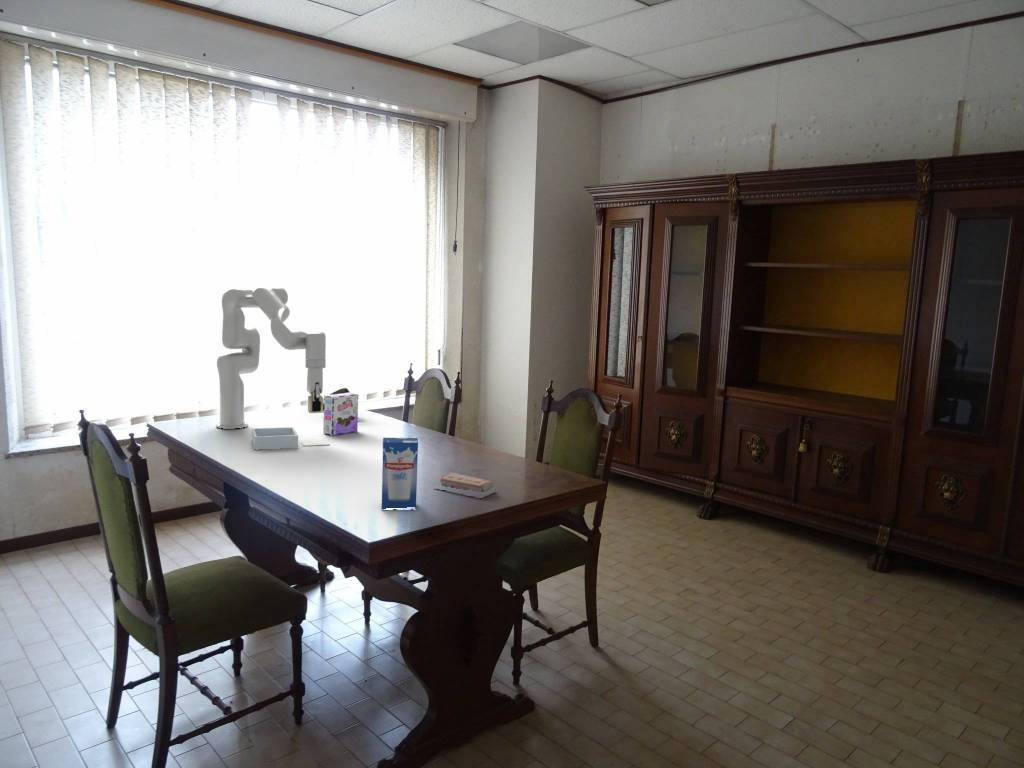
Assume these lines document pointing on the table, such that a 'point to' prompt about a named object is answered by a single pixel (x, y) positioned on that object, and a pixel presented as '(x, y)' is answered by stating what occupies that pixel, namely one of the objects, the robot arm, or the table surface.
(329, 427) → the candy box
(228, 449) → the table surface
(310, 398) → the birch block
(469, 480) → the packaged product
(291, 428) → the square storage bin
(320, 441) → the mat
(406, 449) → the milk carton
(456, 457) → the table surface
